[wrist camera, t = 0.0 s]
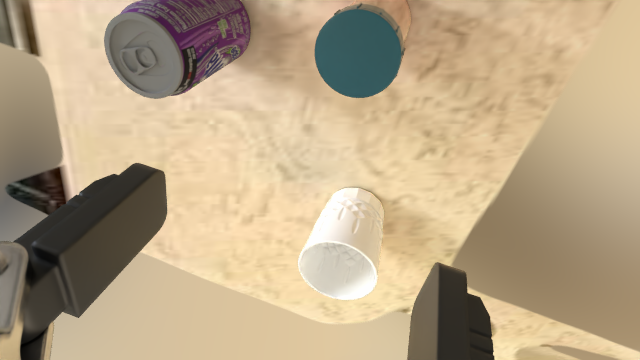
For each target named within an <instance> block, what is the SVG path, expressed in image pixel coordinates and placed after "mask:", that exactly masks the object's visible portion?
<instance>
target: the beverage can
mask: <svg viewBox="0 0 640 360" xmlns="http://www.w3.org/2000/svg"><path fill="white" fill-rule="evenodd" d="M249 40H250V22H249V18H248V15H247V12H246V10H245V8H244V6H243V4H242V3H241V1H240V0H141V1H138V2H135V3H132V4H130V5H129V6H127V7H126V8H125V9H124V10H123V11H122V12H121V14H120V15H118V16H116V17H115V18H113V19H112V20H111V21H110V23H109V24H108V26H107V28H106V31H105V37H104V44H105V51H106V55H107V58H108V60H109V63H110V65H111V67H112V69H113V70H114V72H115V73H116V75H117V76H118V77H119V79H120V80H121V81H122V82H123V83H124V84H125V85H126V86H127V87H129V88H130V89H131V90H133V91H134V92H136V93H138V94H140V95H142V96H144V97H148V98H154V99H158V98H164V97H167V96H174V95H179V94H182V93H185V92H186V91H188V90H190V89H191V88H193V87H194V86H196V85H197V84H199V83H200V82H202V81H203V80H205V79H206V78H208V77H209V76H211V75H212V74H214V73H215V72H217V71H218V70H220V69H221V68H223V67H224V66H226V65H227V64H229V63H230V62H232V61H233V60H235V59H236V58H238V57H239V56H241V55H242V54H243V52H244V51H245V50H246V48H247V46H248V43H249Z"/></svg>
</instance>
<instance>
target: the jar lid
mask: <svg viewBox="0 0 640 360" xmlns="http://www.w3.org/2000/svg"><path fill="white" fill-rule="evenodd" d="M404 51H405V48H404V41H403V36H402V32H401V30H400V25H399V26H398V24H397V22H396V21H395V20H394V19H393V17H392V16H391V15H390V14H388V13H387V12H386V11H384V8H383V9H381V8H379V7H376V6H373V5H369V4H362V3H360V4H355V5H351V6H348V7H346V8H344V9H342V10H338V11H337V12H336V13H335V14H334V16H333V17H332V18H331V19H329V20H328V21H327V22H326V23H325V25H324V26H323V27H322V29H321V30H320V32H319V35H318V37H317V40H316V44H315V61H316V65H317V68H318V71H319V73H320V75H321V76H322V78H323V79H324V81H325V82H326V83H327V84H328V85H329V86H330V87H331V88H332V89H334V90H335V91H337V92H338V93H340V94H342V95H345V96H349V97H354V98H364V97H369V96H373V95H375V94H378V93H379V92H381V91H383V90H384V89H385V88H387V87H388V86H389V85H390V84H391V82H392V81H393V80H394V78H395V77H396V76H397V74H398V70H399V68H400V64H401V61H402V58H403V55H404Z"/></svg>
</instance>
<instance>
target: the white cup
mask: <svg viewBox="0 0 640 360" xmlns="http://www.w3.org/2000/svg"><path fill="white" fill-rule="evenodd" d="M384 214H385V212H384V209H383V207H382V204H381V202H380V201H379V200H378V199H377V198H376V197H375V196H374V195H373V194H372V193H371V192H368V191H366V190H363V189H361V188H344V189H342V190H339V191H337V192H335V193H334V194H333V196H332V197H331V198H330V199H329V201H328V203H327V205H326V207H325V208H324V210H323V211H322V213H321V215H320V217H319V219H318V220H317V222H316V224H315V226H314V228H313V230H312V232H311V234H310V236H309V238H308V240H307V242H306V244H305V246H304V248H303V250H302V252H301V254H300V256H299V260H298V267H299V271H300V273H301V275H302V277H303V279H304V280H305V281H306V282H307V283H308V284H309V285H310V286H311V287H312V288H313V289H315V290H316V291H318V292H319V293H321V294H323V295H326V296H328V297H331V298H335V299H340V300H354V299H359V298H362V297H364V296H366V295H368V294H369V293H370V292H372V291H373V289H374V288H375V286H376V284H377V279H378V271H379V263H380V256H381V248H382V239H383V221H384Z"/></svg>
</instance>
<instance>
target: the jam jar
mask: <svg viewBox="0 0 640 360" xmlns="http://www.w3.org/2000/svg"><path fill="white" fill-rule="evenodd" d="M360 3H362V4H369V5H373V6H376V7H379V8H381V9H383V8H384V11H386V12H387V13H388V14H390V15H391V16H392V17H393V19H394V20H395V21H396V22H397V24H398V26H399V25H400V30H401V32H402V36H403V41H404V42H405V39H406V37H407V34H408V31H409V28H410V23H411V13H410V8H409V5H408V3H407V1H406V0H356V1H355V2H353V3H352V4H351V5H355V4H360ZM351 5H350V6H351Z"/></svg>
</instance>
